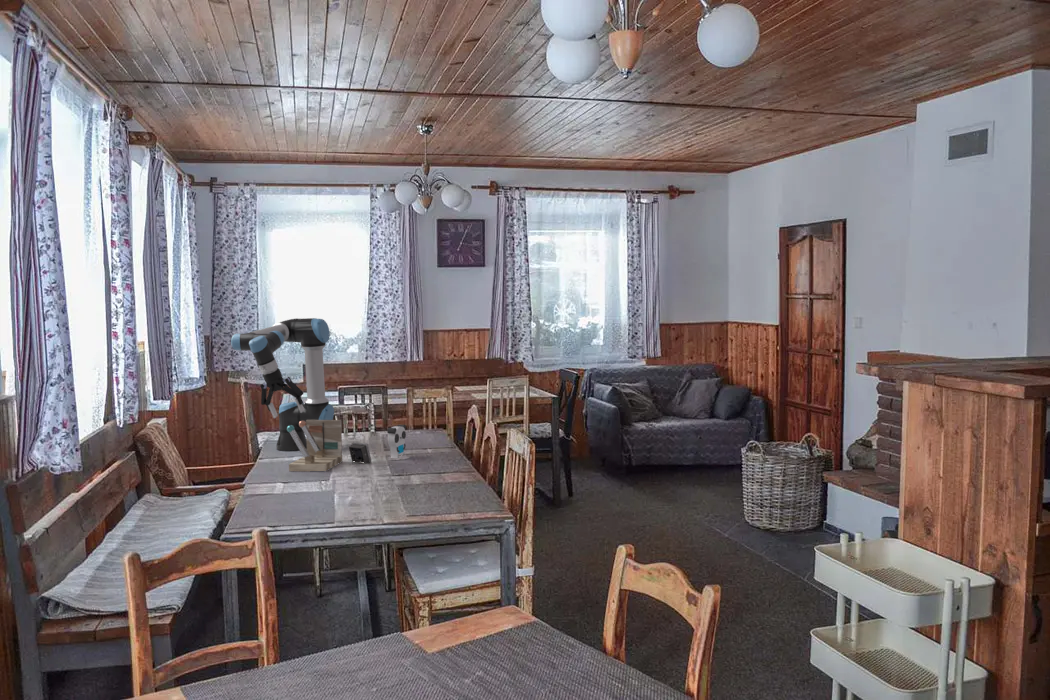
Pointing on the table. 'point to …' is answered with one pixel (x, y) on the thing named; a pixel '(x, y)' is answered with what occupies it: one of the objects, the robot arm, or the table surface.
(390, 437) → the panda figurine
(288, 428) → the teal lever
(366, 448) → the electrical switch
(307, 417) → the robot arm
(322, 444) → the switch unit
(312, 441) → the terracotta lever
